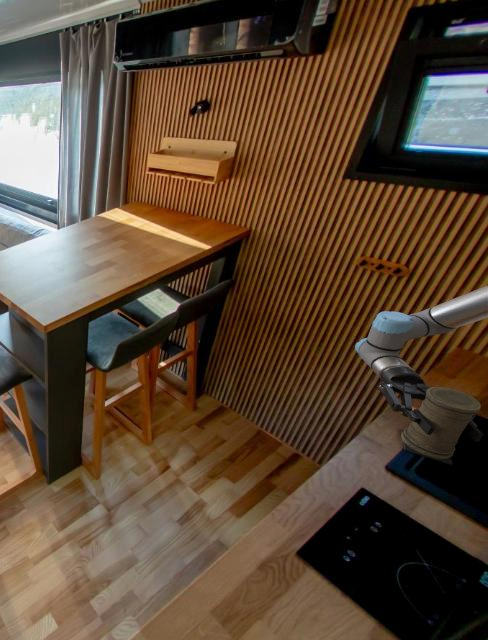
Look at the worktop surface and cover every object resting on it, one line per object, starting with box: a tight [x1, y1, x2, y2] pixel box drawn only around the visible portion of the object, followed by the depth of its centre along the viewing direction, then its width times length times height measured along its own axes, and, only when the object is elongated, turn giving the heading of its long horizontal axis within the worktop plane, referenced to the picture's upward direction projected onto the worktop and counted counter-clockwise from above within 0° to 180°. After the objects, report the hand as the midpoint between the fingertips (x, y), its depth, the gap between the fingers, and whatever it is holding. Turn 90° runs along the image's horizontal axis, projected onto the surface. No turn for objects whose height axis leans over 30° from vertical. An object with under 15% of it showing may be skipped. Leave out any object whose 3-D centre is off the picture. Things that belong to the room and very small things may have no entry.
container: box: [400, 386, 482, 459], centre depth 95 cm, size 9×9×18 cm
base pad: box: [400, 429, 453, 466], centre depth 99 cm, size 8×8×1 cm
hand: (454, 434), depth 91 cm, fingers closed on container, 7 cm apart
